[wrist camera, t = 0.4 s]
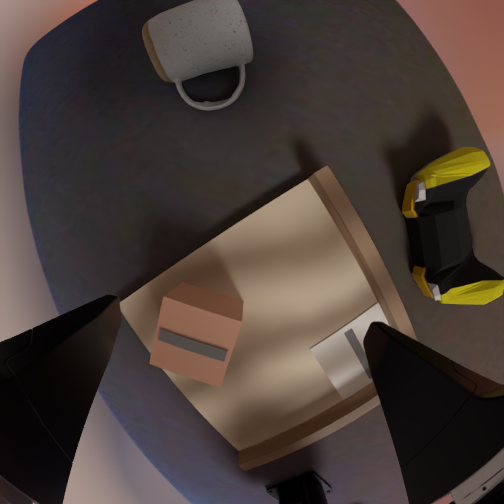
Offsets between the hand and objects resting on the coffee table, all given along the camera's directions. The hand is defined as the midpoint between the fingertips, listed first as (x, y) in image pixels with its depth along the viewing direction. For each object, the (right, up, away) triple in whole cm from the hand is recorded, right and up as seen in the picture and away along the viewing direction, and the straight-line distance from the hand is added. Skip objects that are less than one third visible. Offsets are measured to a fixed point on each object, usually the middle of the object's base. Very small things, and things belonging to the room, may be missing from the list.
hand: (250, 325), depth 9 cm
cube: (-4, -3, +12) cm, 13 cm away
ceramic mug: (-4, +19, +12) cm, 23 cm away
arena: (+2, -5, +13) cm, 14 cm away
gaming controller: (+19, +4, +13) cm, 23 cm away
